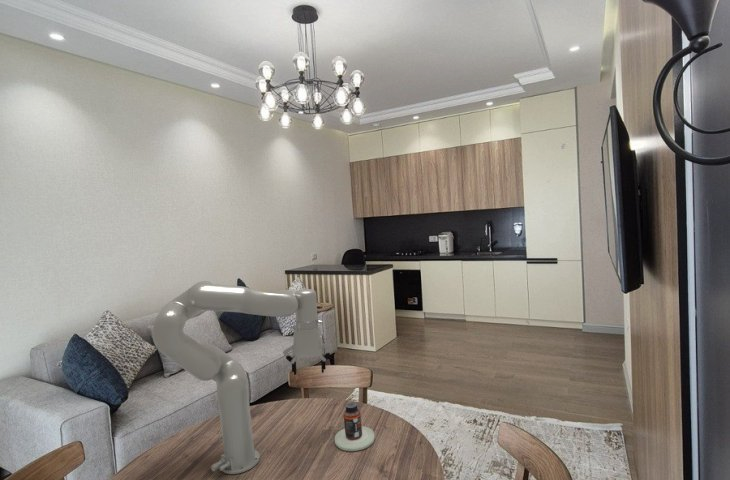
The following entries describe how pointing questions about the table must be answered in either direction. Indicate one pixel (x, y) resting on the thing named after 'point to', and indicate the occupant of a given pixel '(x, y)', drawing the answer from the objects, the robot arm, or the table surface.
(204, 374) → the robot arm
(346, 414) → the supplement bottle
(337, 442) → the dish
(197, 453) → the table surface
